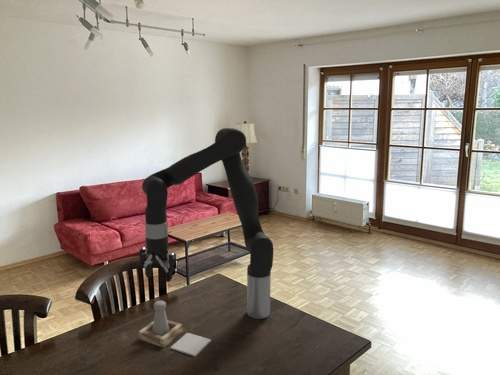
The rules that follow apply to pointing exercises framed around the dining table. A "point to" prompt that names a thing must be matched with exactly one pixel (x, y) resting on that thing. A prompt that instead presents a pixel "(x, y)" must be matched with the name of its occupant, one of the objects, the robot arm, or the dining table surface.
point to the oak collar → (155, 339)
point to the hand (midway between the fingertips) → (158, 278)
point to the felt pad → (191, 344)
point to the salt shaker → (160, 319)
